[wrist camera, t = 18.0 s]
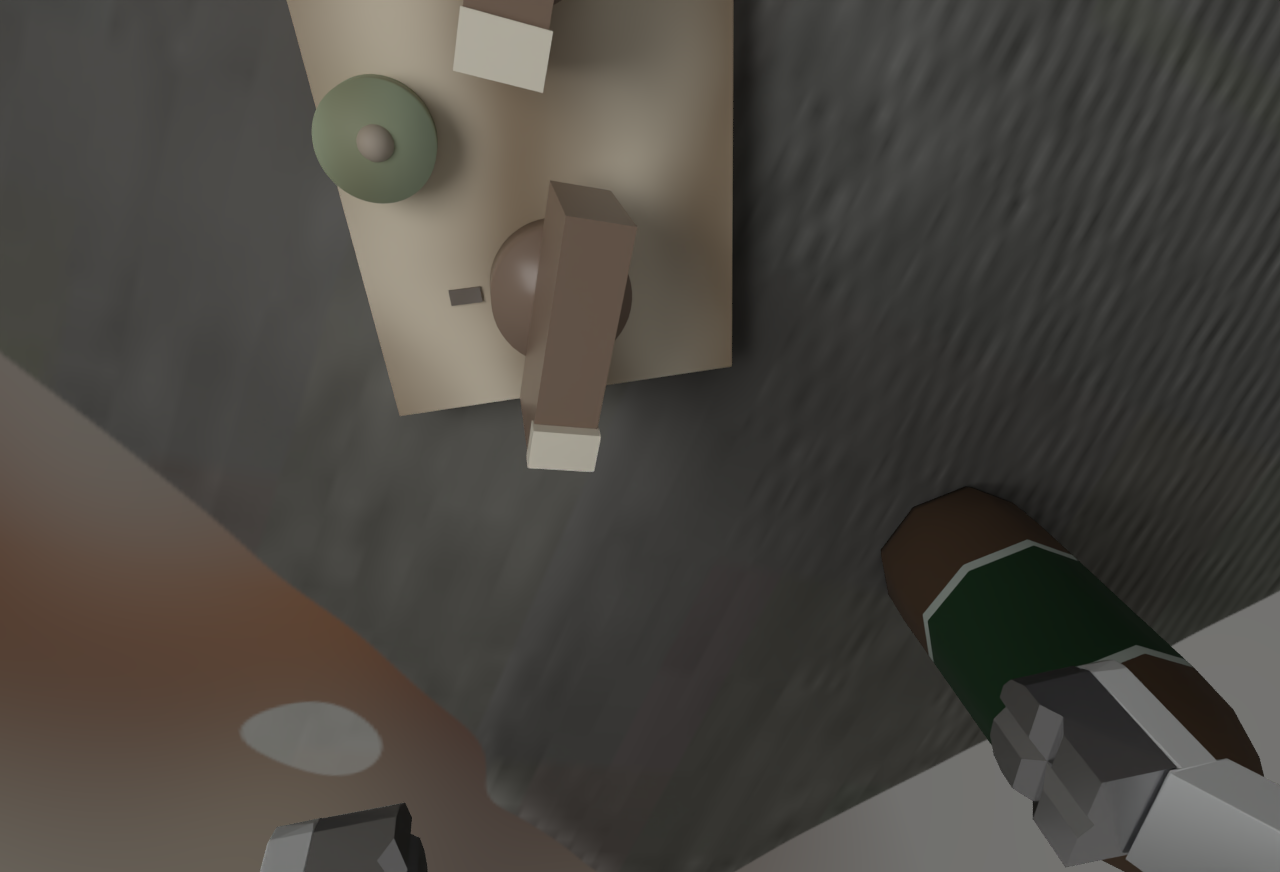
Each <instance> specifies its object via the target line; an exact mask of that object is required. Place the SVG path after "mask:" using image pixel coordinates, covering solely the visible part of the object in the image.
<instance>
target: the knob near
mask: <svg viewBox="0 0 1280 872" xmlns="http://www.w3.org/2000/svg"><path fill="white" fill-rule="evenodd" d="M560 1H562V0H463V6H460V11H459V20H458V29H457V38H456V47H455V56H454V64H453V71H456V72H460V73H464V74H468V75H472V76H476V77H480V78H484V79H489V80H493V81H497V82H501V83H505V84H509V85H513V86H517V87H521V88H525V89H529V90H533V91H537V92H541V93H543V89H544V83H545V77H546V71H547V65H548V59H549V53H550V47H551V41H552V35H553V31H551V30H549V27H550V21H551V15H552V9H553V5H555V4H557V3H558V2H560Z"/></svg>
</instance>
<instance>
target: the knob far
mask: <svg viewBox="0 0 1280 872" xmlns="http://www.w3.org/2000/svg"><path fill="white" fill-rule="evenodd" d="M636 232H637V226H636V224H635V223H634V222H633V220H632V219H631V217H630V216H629V215H628V213H627V212H626V211H625V209H624V208H623V207H622V205H621V204H620V202H619V201H618V200H617V198H616V197H615V196H614V194H613V193H612V192H611V191H610V190H604V189H599V188H593V187H587V186H581V185H575V184H569V183H563V182H557V181H551V180H550V183H549V190H548V197H547V205H546V212H545V218H544V219H539V220H536V221H533V222H531V223H528V224H526V225H524V226H522V227H521V228H519V229H518V230H516V231H515V232H514V233H513V234H512V235H510V236H509V237H508V238H507V240H506V241H505V242H504V243H503V244H502V246H501V247H500V249H499V250H498V252H497V254H496V256H495V258H494V261H493V264H492V267H491V273H490V295H491V306H492V312H493V316H494V320H495V322H496V325H497V327H498V329H499V331H500V332H501V334H502V335H503V337H504V338H505V339H506V341H507V342H508V343H509V344H510V345H511V346H512V347H513V348H514V349H516V350H517V351H518V352H520V353H521V354H523V355H525V364H524V371H523V378H522V385H521V392H520V400H521V407H522V415H523V422H524V430H525V437H526V445H527V456H526V457H527V465H528V468H536V469H552V470H568V471H584V472H594V469H595V464H596V459H597V454H598V449H599V444H600V439H601V434H600V431H599V428H598V423H599V418H600V413H601V408H602V403H603V398H604V393H605V388H606V383H607V378H608V373H609V368H610V362H611V357H612V352H613V347H614V342H615V340H616V339H617V338H618V336H619V335H620V334H621V332H622V330H623V329H624V327H625V325H626V323H627V320H628V318H629V314H630V311H631V305H632V287H631V282H630V278H629V275H628V272H629V267H630V262H631V257H632V252H633V247H634V242H635V237H636Z"/></svg>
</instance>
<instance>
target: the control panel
mask: <svg viewBox="0 0 1280 872" xmlns="http://www.w3.org/2000/svg"><path fill="white" fill-rule="evenodd" d="M287 3H288V6H289V10H290V14H291V17H292V21H293V25H294V28H295V32H296V36H297V39H298V43H299V47H300V50H301V54H302V58H303V61H304V65H305V69H306V73H307V76H308V80H309V84H310V87H311V91H312V95H313V98H314V102H315V106H316V112H315V114H314V118H313V123H312V141H313V146H314V150H315V153H316V156H317V159H318V161H319V163H320V165H321V166H322V168H323V170H324V171H325V173H326V174H327V175H328V176H329V178H330V179H331V180H332V181H333V182H334V183H335V184H336V185H337V186H338V190H339V194H340V198H341V201H342V205H343V209H344V212H345V216H346V220H347V223H348V227H349V231H350V234H351V238H352V242H353V245H354V249H355V253H356V256H357V260H358V264H359V267H360V271H361V275H362V278H363V282H364V286H365V289H366V293H367V297H368V300H369V304H370V308H371V312H372V315H373V319H374V323H375V326H376V330H377V334H378V337H379V341H380V345H381V348H382V352H383V356H384V359H385V363H386V367H387V370H388V374H389V378H390V381H391V385H392V389H393V392H394V396H395V400H396V403H397V407H398V411H399V414H400V416H404V415H410V414H417V413H424V412H430V411H437V410H444V409H450V408H457V407H464V406H470V405H477V404H484V403H490V402H497V401H504V400H510V399H517V398H520V392H521V385H522V378H523V371H524V364H525V355H523V354H521V353H520V352H518V351H517V350H516V349H514V348H513V347H512V346H511V345H510V344H509V343H508V342H507V341H506V339H505V338H504V337H503V335H502V334H501V332H500V331H499V329H498V327H497V325H496V322H495V320H494V316H493V312H492V306H491V295H490V273H491V267H492V264H493V261H494V258H495V256H496V254H497V252H498V250H499V249H500V247H501V246H502V244H503V243H504V242H505V241H506V240H507V238H508V237H509V236H510V235H512V234H513V233H514V232H515V231H516V230H518V229H519V228H521V227H522V226H524V225H526V224H528V223H531V222H533V221H536V220H539V219H544V218H545V212H546V205H547V197H548V190H549V183H550V180H551V181H557V182H563V183H569V184H575V185H581V186H587V187H593V188H599V189H604V190H610V191H611V192H612V193H613V194H614V196H615V197H616V198H617V200H618V201H619V202H620V204H621V205H622V207H623V208H624V209H625V211H626V212H627V213H628V215H629V216H630V217H631V219H632V220H633V222H634V223H635V224H636V226H637V232H636V237H635V242H634V247H633V252H632V257H631V262H630V267H629V272H628V275H629V278H630V282H631V287H632V305H631V311H630V314H629V318H628V320H627V323H626V325H625V327H624V329H623V330H622V332H621V334H620V335H619V336H618V338H617V339H616V340H615V342H614V347H613V352H612V357H611V362H610V368H609V373H608V378H607V383H606V385H611V384H617V383H624V382H631V381H637V380H644V379H651V378H657V377H664V376H671V375H678V374H684V373H691V372H698V371H704V370H711V369H718V368H724V367H731V366H732V212H733V0H562V1H560V2H558V3H557V4H555V5H553V9H552V15H551V21H550V27H549V30H551V31H553V35H552V41H551V47H550V53H549V59H548V65H547V71H546V77H545V83H544V89H543V93H541V92H537V91H533V90H529V89H525V88H521V87H517V86H513V85H509V84H505V83H501V82H497V81H493V80H489V79H484V78H480V77H476V76H472V75H468V74H464V73H460V72H456V71H453V64H454V56H455V47H456V38H457V29H458V20H459V11H460V6H463V0H287Z"/></svg>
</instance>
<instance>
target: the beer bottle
mask: <svg viewBox="0 0 1280 872" xmlns="http://www.w3.org/2000/svg"><path fill="white" fill-rule="evenodd" d="M881 557H882V562H883V567H884V573H885V578H886V583H887V589H888V594H889V596H890V598H891V599H892V601H893V603H894V604H895V606H896V607H897V609H898V611H899V612H900V614H901V616H902V617H903V619H904V621H905V622H906V623H907V625H908V626H909V628H910V629H911V631H912V632H913V633H914V635H915V636H916V638H917V639H918V641H919V642H920V643H921V645H922V646H923V648H924V649H925V651H926V652H927V653H928V655H929V656H930V658H931V659H932V661H933V662H934V663H935V665H936V666H937V668H938V669H939V671H940V672H941V673H942V675H943V676H944V678H945V679H946V681H947V682H948V683H949V685H950V686H951V688H952V689H953V691H954V692H955V693H956V695H957V696H958V698H959V699H960V701H961V702H962V703H963V705H964V706H965V708H966V709H967V711H968V712H969V713H970V715H971V716H972V718H973V719H974V721H975V722H976V723H977V725H978V726H979V728H980V729H981V731H982V732H983V733H984V735H985V736H986V738H987V739H988V741H989V742H990V743H991V738H990V733H991V728H992V724H993V719H994V718H995V717H996V716H997V715H998V714H999V713H1000V712H1001V711H1002V710H1003V709H1004V708H1005V707H1006V706H1005V704H1004V703H1003V702H1002V700H1001V699H1000V695H1001V692H1002V688H1003V685H1004V684H1006V683H1007V682H1008V681H1010V680H1011V679H1015V678H1020V677H1025V676H1029V675H1034V674H1038V673H1043V672H1047V671H1052V670H1056V669H1061V668H1065V667H1070V666H1080V665H1084V664H1089V663H1093V662H1098V661H1102V660H1115V661H1117V662H1119V663H1121V664H1123V665H1124V666H1125V667H1126V668H1128V669H1129V671H1130V672H1131V673H1132V674H1133V675H1134V676H1135V677H1136V678H1137V679H1138V680H1139V681H1140V682H1141V683H1142V684H1143V685H1144V686H1145V687H1146V688H1147V689H1148V690H1149V691H1150V692H1151V693H1152V694H1153V695H1154V696H1155V697H1156V698H1157V699H1158V700H1159V701H1160V702H1161V703H1162V705H1163V706H1164V707H1165V708H1166V709H1167V710H1168V711H1169V712H1170V713H1171V714H1172V715H1173V716H1174V717H1175V718H1176V719H1177V720H1178V721H1179V722H1180V723H1181V724H1182V725H1183V726H1184V727H1185V728H1186V729H1187V730H1188V731H1189V732H1190V733H1191V734H1192V735H1193V736H1194V738H1195V739H1196V740H1197V741H1198V742H1199V743H1200V744H1201V745H1202V746H1203V747H1204V748H1205V749H1206V750H1207V751H1208V752H1209V753H1210V754H1211V755H1212V756H1213V757H1214V758H1215V759H1216V760H1219V759H1225V758H1227V759H1229V760H1231V761H1233V762H1235V763H1237V764H1239V765H1241V766H1243V767H1245V768H1247V769H1249V770H1251V771H1253V772H1255V773H1257V774H1259V775H1261V776H1263V777H1264V774H1263V770H1262V766H1261V762H1260V758H1259V756H1258V754H1257V752H1256V750H1255V748H1254V747H1253V745H1252V743H1251V741H1250V739H1249V737H1248V736H1247V734H1246V732H1245V730H1244V728H1243V727H1242V725H1241V723H1240V721H1239V720H1238V717H1237V715H1236V714H1235V712H1234V710H1233V709H1232V708H1231V707H1230V706H1229V705H1228V703H1227V702H1226V701H1225V700H1224V699H1223V698H1222V697H1221V696H1220V695H1219V694H1218V693H1217V692H1216V691H1215V690H1214V689H1213V687H1212V686H1211V685H1210V684H1209V683H1208V682H1207V681H1206V680H1205V679H1204V678H1203V677H1202V676H1201V675H1200V674H1199V673H1198V671H1197V670H1196V669H1195V668H1194V667H1193V666H1192V665H1190V664H1189V663H1188V662H1187V661H1186V660H1185V659H1184V658H1183V657H1182V656H1181V655H1180V654H1179V653H1177V652H1176V651H1175V650H1174V649H1173V648H1172V647H1171V646H1170V645H1169V644H1168V643H1167V642H1166V641H1165V640H1163V639H1162V638H1161V637H1160V636H1159V635H1158V634H1157V633H1156V632H1155V631H1154V630H1153V629H1152V628H1151V627H1149V626H1148V625H1147V624H1146V623H1145V622H1144V621H1143V620H1142V619H1141V618H1140V617H1139V616H1138V615H1136V614H1135V613H1134V612H1133V611H1132V610H1131V609H1130V608H1129V607H1128V606H1127V605H1126V604H1125V603H1123V602H1122V601H1121V600H1120V599H1119V598H1118V597H1117V596H1116V595H1115V594H1114V593H1113V592H1112V591H1111V590H1109V589H1108V588H1107V587H1106V586H1105V585H1104V584H1103V583H1102V582H1101V581H1100V580H1099V579H1098V578H1096V577H1095V576H1094V575H1093V574H1092V573H1091V572H1090V571H1089V570H1088V569H1087V568H1086V567H1085V566H1083V565H1082V564H1081V563H1080V562H1079V561H1078V560H1077V559H1076V558H1075V557H1074V556H1073V555H1072V554H1071V553H1069V552H1068V551H1067V550H1066V549H1065V548H1064V547H1063V546H1062V545H1061V544H1060V543H1059V542H1058V541H1056V540H1055V539H1054V538H1053V537H1052V536H1051V535H1050V534H1049V533H1048V532H1047V531H1046V530H1045V529H1043V528H1042V527H1041V526H1040V525H1039V524H1038V523H1037V522H1036V521H1034V520H1033V519H1032V518H1031V517H1029V516H1028V515H1027V514H1026V513H1024V512H1023V511H1022V510H1021V509H1019V508H1018V507H1017V506H1016V505H1015V504H1013V503H1011V502H1008V501H1006V500H1003V499H1000V498H998V497H995V496H992V495H990V494H987V493H984V492H982V491H979V490H976V489H974V488H971V487H963V488H961V489H958V490H956V491H953V492H951V493H948V494H945V495H943V496H940V497H938V498H935V499H933V500H930V501H928V502H925V503H923V504H920V505H918V506H915V507H913V508H912V509H911V511H910V512H909V513H908V515H907V516H906V517H905V519H904V520H903V521H902V523H901V524H900V525H899V527H898V528H897V529H896V531H895V532H894V533H893V535H892V536H891V537H890V539H889V540H888V541H887V543H886V544H885V545H884V547H883V548H882V549H881ZM991 745H992V743H991ZM1126 857H1127V855H1123V856H1119V857H1114V858H1109V859H1104V860H1103V861H1104V862H1107V863H1108V864H1110V865H1113V866H1114V867H1116V868H1118V869H1121V870H1122V871H1124V872H1143V871H1141V870H1140V869H1139V868H1137V867H1136V866H1134V865H1133V864H1132V863H1130V862H1129V861H1128V860H1126Z"/></svg>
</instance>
